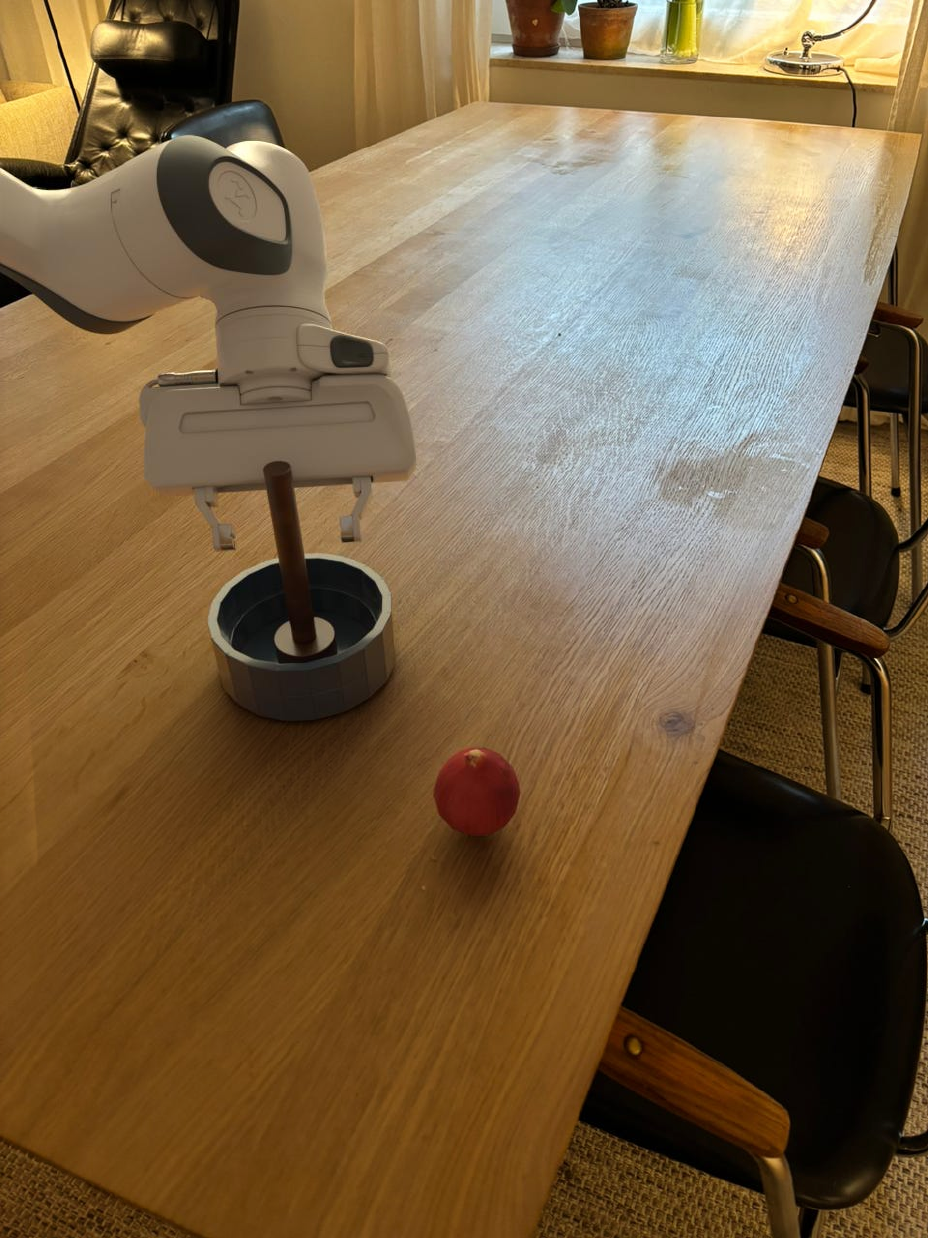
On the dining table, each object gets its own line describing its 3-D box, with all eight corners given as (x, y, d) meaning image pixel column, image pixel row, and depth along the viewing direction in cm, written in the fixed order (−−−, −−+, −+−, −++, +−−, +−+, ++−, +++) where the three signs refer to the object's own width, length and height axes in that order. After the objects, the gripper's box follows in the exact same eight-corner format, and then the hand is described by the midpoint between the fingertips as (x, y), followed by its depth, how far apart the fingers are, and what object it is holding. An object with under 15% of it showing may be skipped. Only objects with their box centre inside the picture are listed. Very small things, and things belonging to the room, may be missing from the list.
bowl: (239, 747, 76) (225, 691, 72) (207, 630, 87) (194, 576, 83) (419, 697, 80) (415, 641, 76) (368, 591, 90) (362, 537, 86)
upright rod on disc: (285, 684, 80) (249, 492, 68) (272, 646, 84) (235, 457, 72) (344, 668, 82) (319, 477, 70) (329, 631, 85) (302, 444, 73)
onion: (463, 782, 73) (461, 706, 68) (533, 813, 71) (536, 737, 65) (421, 838, 69) (415, 762, 64) (492, 873, 67) (492, 797, 62)
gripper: (126, 360, 72) (136, 548, 71) (408, 343, 73) (422, 528, 72) (148, 387, 78) (158, 561, 77) (408, 372, 79) (421, 543, 78)
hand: (288, 545), depth 74 cm, fingers open, 8 cm apart
